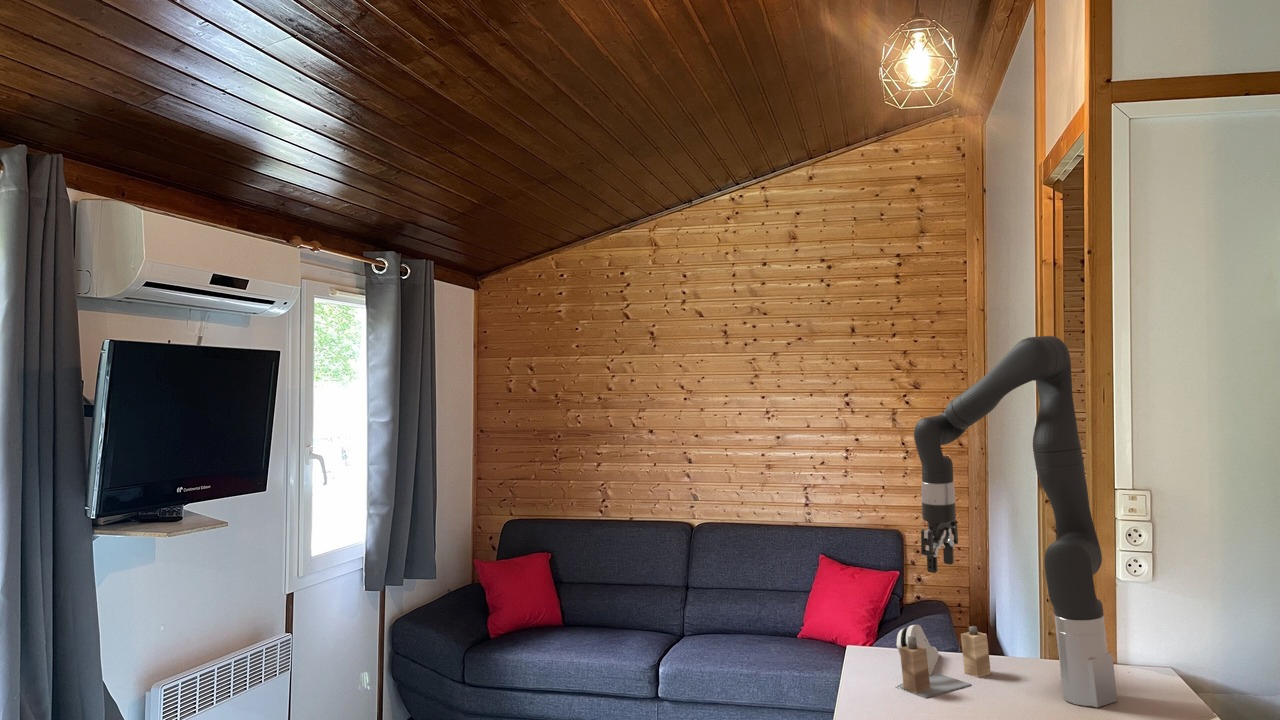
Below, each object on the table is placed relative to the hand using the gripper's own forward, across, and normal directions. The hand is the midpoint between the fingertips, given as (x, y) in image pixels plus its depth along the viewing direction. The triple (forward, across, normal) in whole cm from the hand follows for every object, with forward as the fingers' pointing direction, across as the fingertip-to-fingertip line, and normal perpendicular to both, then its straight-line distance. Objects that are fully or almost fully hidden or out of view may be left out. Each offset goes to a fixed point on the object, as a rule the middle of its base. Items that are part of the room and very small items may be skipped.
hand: (940, 567), depth 215 cm
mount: (+23, -15, -4) cm, 27 cm away
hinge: (+24, -2, +6) cm, 25 cm away
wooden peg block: (+23, -2, -9) cm, 25 cm away
